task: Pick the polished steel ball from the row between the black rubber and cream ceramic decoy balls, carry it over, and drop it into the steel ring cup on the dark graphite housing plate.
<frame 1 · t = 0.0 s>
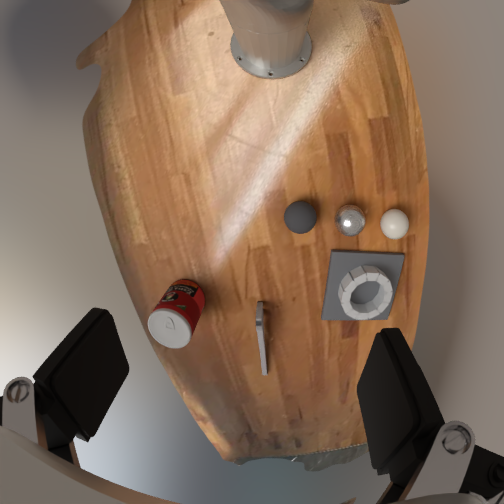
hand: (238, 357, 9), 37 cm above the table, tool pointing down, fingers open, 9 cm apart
canned food: (187, 295, 52), on the table
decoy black: (300, 217, 42), point 2 cm above the table
steel ball: (350, 220, 41), point 2 cm above the table
caliper: (263, 340, 55), on the table
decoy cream: (394, 224, 40), point 2 cm above the table
housing: (361, 286, 48), on the table
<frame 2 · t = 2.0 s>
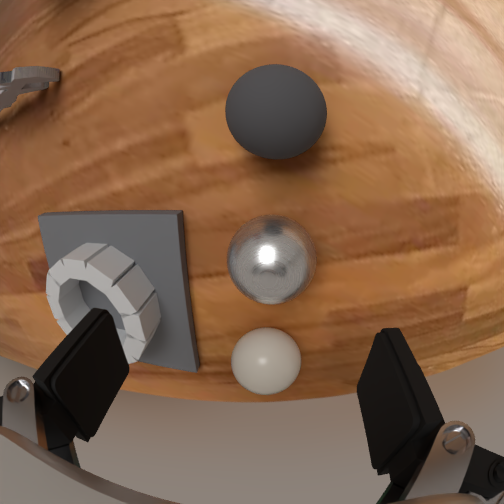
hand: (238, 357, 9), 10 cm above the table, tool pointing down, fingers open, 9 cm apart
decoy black: (276, 111, 12), point 2 cm above the table
steel ball: (271, 259, 15), point 2 cm above the table
caliper: (5, 113, 16), on the table
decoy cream: (266, 361, 18), point 2 cm above the table
housing: (114, 291, 21), on the table
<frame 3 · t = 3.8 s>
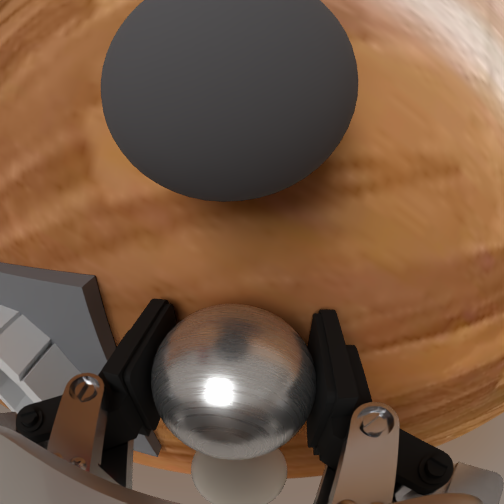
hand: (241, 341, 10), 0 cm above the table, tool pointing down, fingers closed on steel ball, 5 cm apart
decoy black: (228, 80, 5), point 2 cm above the table
steel ball: (233, 383, 8), point 2 cm above the table, touching gripper
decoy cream: (239, 471, 11), point 2 cm above the table
housing: (47, 361, 13), on the table
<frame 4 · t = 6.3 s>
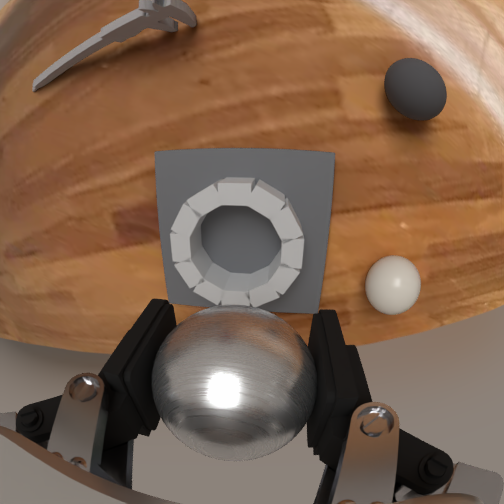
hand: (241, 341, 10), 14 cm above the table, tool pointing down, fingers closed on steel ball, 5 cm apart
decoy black: (415, 88, 15), point 2 cm above the table
steel ball: (234, 384, 8), point 16 cm above the table, touching gripper
caliper: (100, 54, 18), on the table
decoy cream: (393, 285, 21), point 2 cm above the table
housing: (242, 232, 23), on the table
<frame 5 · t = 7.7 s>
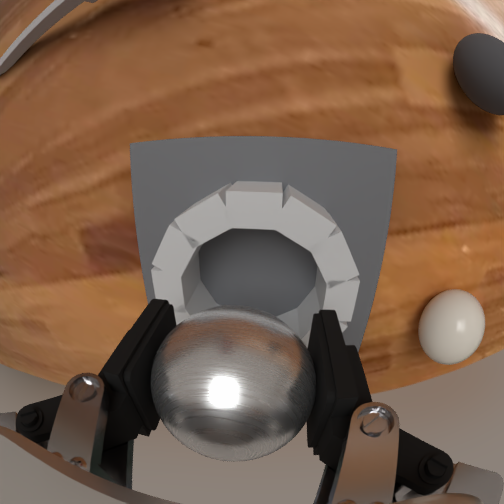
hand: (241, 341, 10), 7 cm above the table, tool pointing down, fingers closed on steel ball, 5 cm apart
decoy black: (491, 73, 8), point 2 cm above the table
steel ball: (233, 384, 8), point 9 cm above the table, touching gripper
caliper: (70, 24, 11), on the table
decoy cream: (452, 327, 14), point 2 cm above the table
housing: (258, 261, 16), on the table
when the fingers open (5 cm above the table, at t = 8.9 s): steel ball drops 3 cm, resting on housing.
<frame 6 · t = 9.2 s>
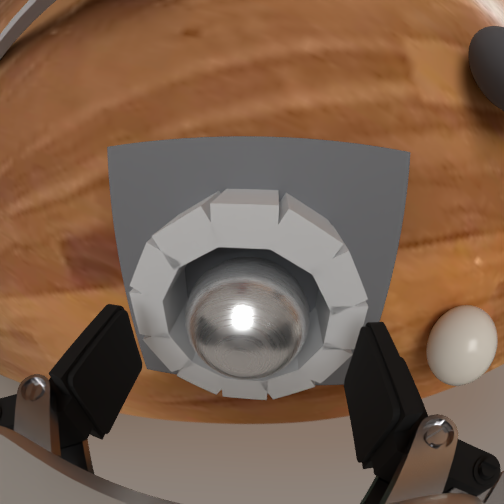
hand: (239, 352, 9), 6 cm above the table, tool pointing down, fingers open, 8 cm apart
steel ball: (247, 318, 11), point 3 cm above the table, touching housing
caliper: (52, 19, 9), on the table
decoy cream: (462, 345, 12), point 2 cm above the table
housing: (252, 278, 14), on the table
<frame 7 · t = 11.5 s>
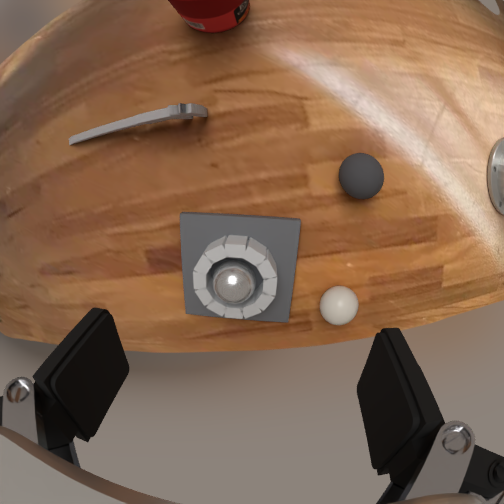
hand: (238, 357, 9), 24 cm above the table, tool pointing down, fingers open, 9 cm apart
canned food: (217, 11, 23), on the table
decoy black: (361, 176, 27), point 2 cm above the table
steel ball: (234, 282, 31), point 3 cm above the table, touching housing
caliper: (130, 125, 29), on the table
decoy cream: (339, 305, 33), point 2 cm above the table
housing: (238, 268, 35), on the table
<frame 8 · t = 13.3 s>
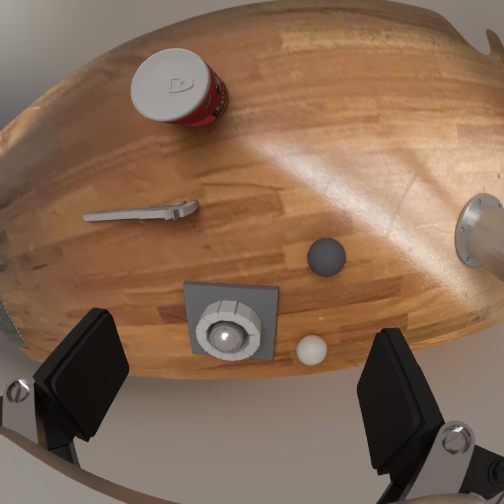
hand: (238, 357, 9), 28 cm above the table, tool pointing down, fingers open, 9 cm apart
canned food: (199, 99, 31), on the table
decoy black: (326, 257, 35), point 2 cm above the table
steel ball: (226, 336, 40), point 3 cm above the table, tilted 7°, touching housing
caliper: (135, 209, 38), on the table
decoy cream: (311, 350, 41), point 2 cm above the table
housing: (231, 322, 43), on the table
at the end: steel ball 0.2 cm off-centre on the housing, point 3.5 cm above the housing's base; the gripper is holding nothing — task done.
